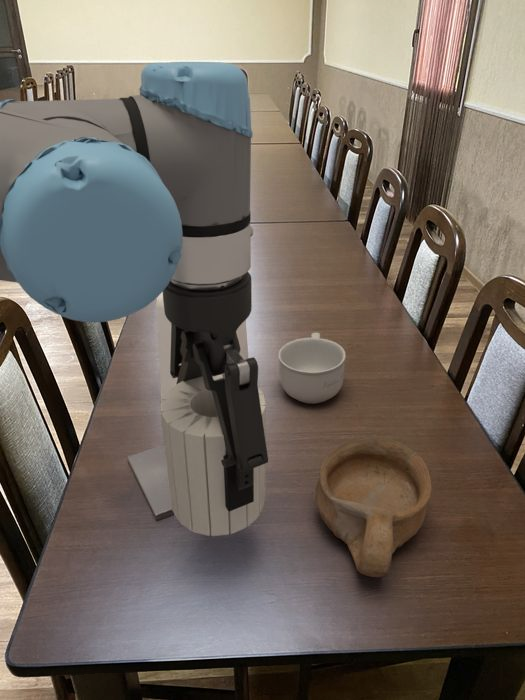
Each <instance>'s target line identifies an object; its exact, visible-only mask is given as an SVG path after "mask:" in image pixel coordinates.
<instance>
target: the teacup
mask: <svg viewBox="0 0 525 700" xmlns="http://www.w3.org/2000/svg"><path fill="white" fill-rule="evenodd" d="M277 358H278V365H279V378H280V384H281V386H282V389H283V390H284V391H285V393H286V394H287V395H288V396H289V397H291V398H292V399H294V400H297V401H299V402H301V403H304V404H311V405H312V404H314V405H315V404H320V403H323V402H326V401H327V400H330V399H332V398H333V397H335V396H337V394H338V393H339V392H340V390H341V389H342V387H343V383H344V377H345V361H346V359H347V354H346V350H345V349H344V348H343V346H341V345H340V344H339V343H337V342H335V341H333V340H331V339H327V338H322V337H321V333H320V332H312V333H311V336H310V337H303V338H297V339H293V340H291V341H289V342H287V343H285V344H284V345H283V346H281V348H280V349H279V351H278V353H277Z"/></svg>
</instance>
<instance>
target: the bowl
mask: <svg viewBox="0 0 525 700" xmlns="http://www.w3.org/2000/svg"><path fill="white" fill-rule="evenodd" d="M431 479H432V478H431V475H430V472H429V468H428V466H427V465H426V463H425V461H424V460H423V458H422V457H421V456H419V454H418V453H417V452H415V451H414V450H412V449H411V448H410V447H408V446H407V445H404V443H401V442H400V441H398V440H396V439H393V438H387V437H381V436H371V437H365V438H352V439H349V440H346V441H343V442H342V443H341V444H338V445H336V446H335V447H334V448H333V449H332V450H330V451H329V452H328V453H327V454H326V456H324V458H323V460H322V462H321V465H320V467H319V474H318V479H317V483H316V487H315V502H316V503H315V504H316V509H317V511H318V513H319V514H320V517H321V519H322V521H323V522H324V524H326V526H327V528H328V529H329V531H331V532H333V535H334V536H335V537H336V538H338V539H340V540H341V541H342V542H344V544H347V547H348V550H349V552H350V555H351V556H352V559H353V561H354V564H355V567H356V570H357V572H359V574H362V575H364V576H366V577H371V578H382V577H386V576H387V575H388V574H389V571H390V569H391V564H392V559H393V558H392V557H393V554H394V553H395V552H396V550H397V549H398V548H401V547H402V546H403V545H404V544H405V542H408V541H409V540H410V539H411V538H413V537H414V536H415V535H417V533H418V532H419V530H420V529H421V528H422V526H423V523H424V521H425V518H426V515H427V509H428V504H429V502H430V500H431V496H432V490H433V486H432V485H433V484H432V480H431Z"/></svg>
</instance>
